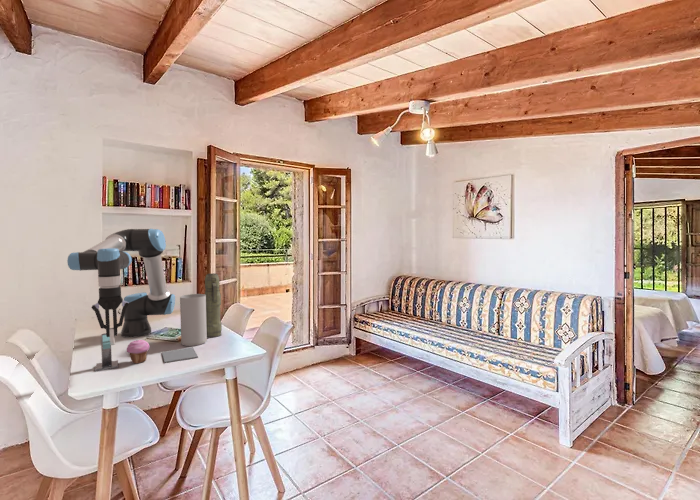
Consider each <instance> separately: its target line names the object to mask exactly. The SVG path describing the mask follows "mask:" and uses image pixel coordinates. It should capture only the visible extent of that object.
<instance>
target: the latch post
mask: <svg viewBox="0 0 700 500" xmlns="http://www.w3.org/2000/svg"><path fill="white" fill-rule="evenodd" d="M100 346H101V347H100V349H101V350H100V351H101V352H100V353H101V362H99V363H96V364H95V367H94V368H95V369H94V371H95V372H101V371H107V370H113V369H118V367H119V360H118V359H117V360H112V359H113V357H112V356H113V355H112V345H110V348H108V349H103V340H102V338H101V340H100Z"/></svg>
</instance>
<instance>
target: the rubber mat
mask: <svg viewBox="0 0 700 500" xmlns="http://www.w3.org/2000/svg"><path fill="white" fill-rule="evenodd" d="M161 355H162V359H163V363H164V364H168V363H169V364H170V363H174V362H179V361H180V362H181V361H186V360H193V359H198V358H199V356H198V354H197V352H196V350H195V348H194V347H193V346H191V347H186V348H181V349H173V350H166V351H162V352H161Z"/></svg>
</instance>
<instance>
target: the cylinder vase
mask: <svg viewBox="0 0 700 500" xmlns="http://www.w3.org/2000/svg"><path fill="white" fill-rule="evenodd" d="M179 310H180V315H179V316H180V343H181V345H183V346H186V347H193V346H194V347H195V346H200V345H203V344H205V343H206V342H207V340H208V339H207V338H208V337H207V326H206V295H205V293H204V294H202V293H194V294H193V293H190V294H183V295H180V296H179Z"/></svg>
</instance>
